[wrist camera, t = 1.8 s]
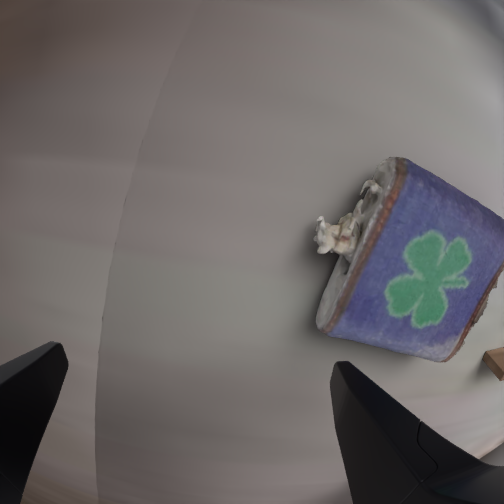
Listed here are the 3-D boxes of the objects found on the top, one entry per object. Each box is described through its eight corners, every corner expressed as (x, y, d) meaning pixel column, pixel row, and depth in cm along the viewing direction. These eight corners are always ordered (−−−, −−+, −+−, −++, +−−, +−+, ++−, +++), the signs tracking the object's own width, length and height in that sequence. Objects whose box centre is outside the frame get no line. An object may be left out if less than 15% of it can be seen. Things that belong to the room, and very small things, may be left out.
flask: (445, 371, 15) (280, 331, 14) (428, 344, 17) (279, 300, 17) (524, 231, 11) (365, 132, 11) (495, 217, 14) (347, 134, 13)
